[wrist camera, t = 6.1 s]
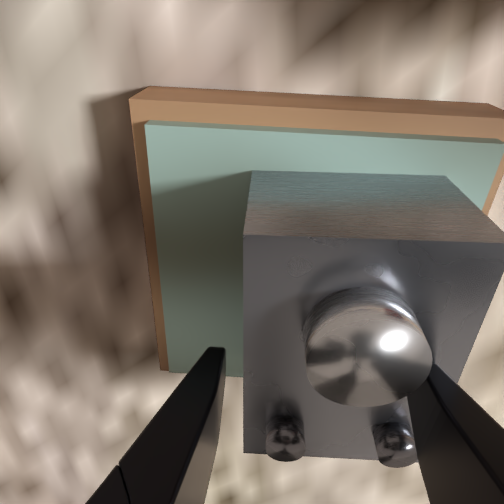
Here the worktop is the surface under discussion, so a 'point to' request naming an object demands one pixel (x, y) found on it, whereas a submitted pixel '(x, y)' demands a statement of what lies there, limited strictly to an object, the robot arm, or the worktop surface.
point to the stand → (272, 159)
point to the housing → (356, 307)
